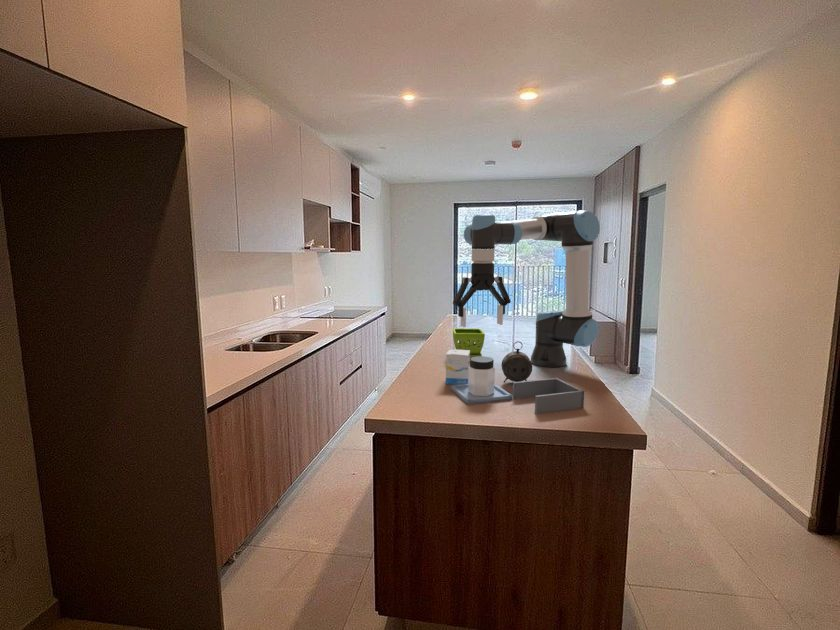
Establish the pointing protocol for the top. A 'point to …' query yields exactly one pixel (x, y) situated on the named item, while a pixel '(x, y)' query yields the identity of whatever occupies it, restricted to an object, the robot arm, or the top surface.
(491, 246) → the robot arm
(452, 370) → the ink box
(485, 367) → the jar
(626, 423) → the top surface
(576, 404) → the wall
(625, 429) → the top surface
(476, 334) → the flower pot
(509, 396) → the tray
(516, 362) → the alarm clock
